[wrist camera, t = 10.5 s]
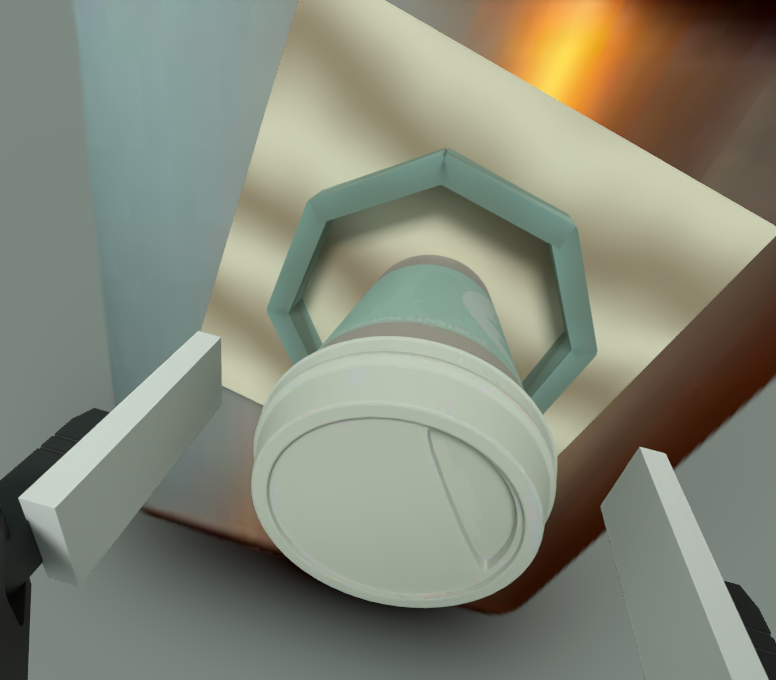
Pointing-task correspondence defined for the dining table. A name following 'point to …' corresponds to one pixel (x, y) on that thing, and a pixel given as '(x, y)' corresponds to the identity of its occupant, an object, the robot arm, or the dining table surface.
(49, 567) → the robot arm
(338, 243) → the serving board
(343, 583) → the coffee cup
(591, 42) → the dining table surface
